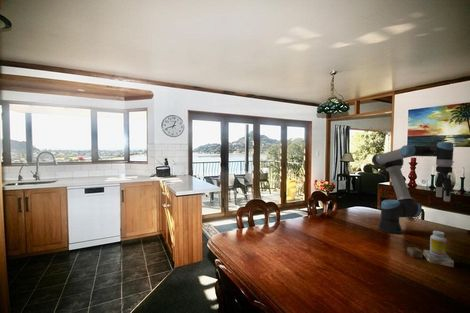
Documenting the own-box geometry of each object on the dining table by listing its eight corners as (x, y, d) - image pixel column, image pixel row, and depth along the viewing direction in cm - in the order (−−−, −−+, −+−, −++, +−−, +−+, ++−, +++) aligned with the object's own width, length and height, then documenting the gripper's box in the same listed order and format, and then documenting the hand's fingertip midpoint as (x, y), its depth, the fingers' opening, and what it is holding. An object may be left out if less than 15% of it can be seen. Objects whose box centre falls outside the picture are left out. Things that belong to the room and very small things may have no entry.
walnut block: (412, 257, 123) (413, 250, 123) (407, 253, 128) (407, 247, 128) (422, 258, 123) (422, 251, 123) (416, 254, 128) (416, 247, 127)
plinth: (429, 262, 118) (429, 256, 118) (423, 254, 127) (423, 249, 127) (453, 267, 113) (453, 260, 113) (445, 258, 122) (446, 253, 122)
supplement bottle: (447, 258, 116) (448, 235, 115) (431, 255, 119) (432, 232, 119) (443, 253, 121) (444, 231, 121) (428, 250, 125) (429, 229, 124)
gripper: (461, 168, 123) (459, 204, 124) (444, 165, 145) (443, 195, 145) (443, 167, 126) (442, 202, 127) (430, 164, 148) (428, 194, 149)
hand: (442, 199), depth 136 cm, fingers open, 13 cm apart
